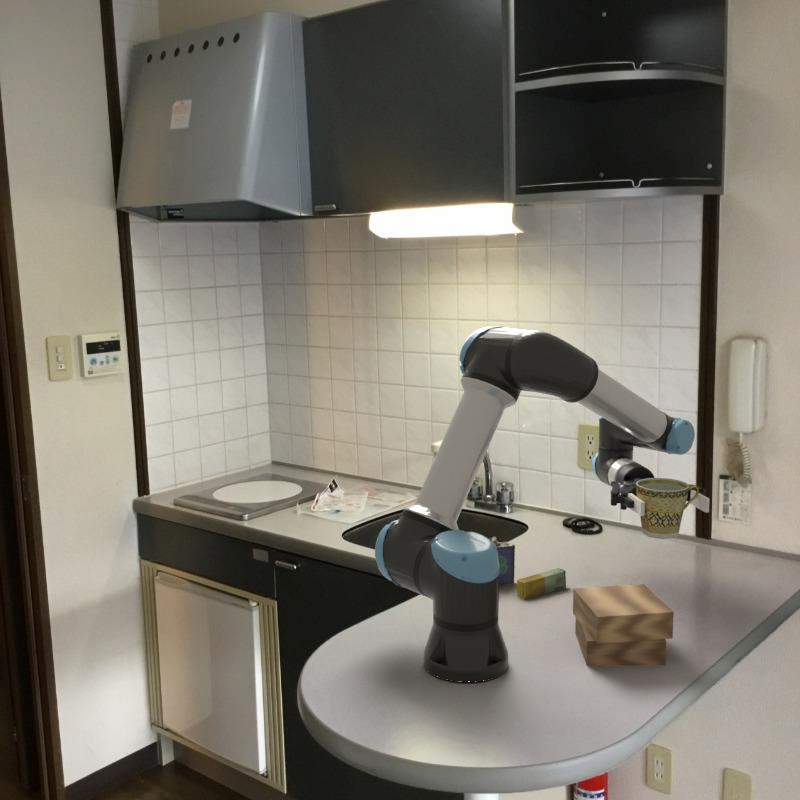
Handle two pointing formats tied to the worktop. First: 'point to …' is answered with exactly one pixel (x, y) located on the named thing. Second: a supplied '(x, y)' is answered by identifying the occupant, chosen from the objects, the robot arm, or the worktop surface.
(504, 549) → the flask
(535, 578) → the medication box
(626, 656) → the tower bottom block
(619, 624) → the tower top block
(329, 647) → the worktop surface
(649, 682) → the worktop surface
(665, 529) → the ceramic cup
